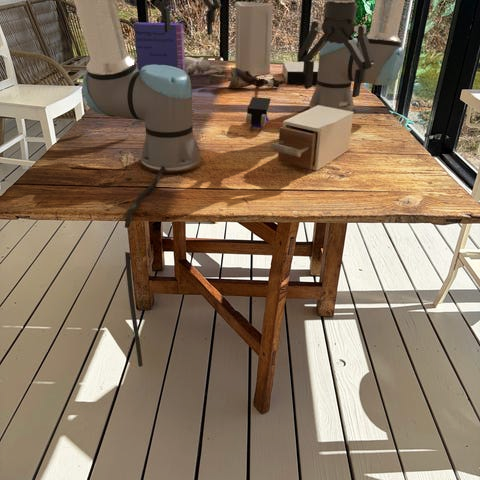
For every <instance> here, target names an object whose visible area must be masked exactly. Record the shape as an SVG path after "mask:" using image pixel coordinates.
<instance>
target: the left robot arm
mask: <svg viewBox="0 0 480 480" xmlns="http://www.w3.org/2000/svg"><path fill="white" fill-rule="evenodd" d="M73 1H74V6H75V9H76V12H77V16H78V19H79V22H80V23H79V24H80V26H81V30H82V33H83V37H84V41H85V44H86V48H87V52H88V56H89V58H90V59H89V61H88V62H87V63H86V66H85V67H86V70H85V72H84V74H83V76H82V82H83V83H82V85H81V88H82V94H83V98H84V99H85V102H86V104H87V105H88V107H89V108H90V109H91V110H92V111H93V112H95V113H97V114H100V115H102V116H103V115H104V116H107V117H108V118H109V117H110V118H123V119H130V120H136V121H143V122H144V125H145V138H144V142H143V146H142V150H141V154H140V162H141V166H142V168H144V169H145V170H146V171H149V172H151V173H156V176H155V177H154V179H153V182H152V183H151V184H150V185H149V186H148V187H147V188H146V189H145V190H144V191H142V192H141V193H140V194H139V196H138V197H136V198H135V200H134V201H133V203H132V204H131V206H130V207H129V209H128V210H127V212H126V215H125V220H124V228H125V229H128V228H130V226H131V219H132V215H133V213H134V212H135V210H136V208H137V207H138V205H139V204H140V202H141V201H142V200H143V199H144V198H145V197H146V196H147V195H149V194H150V193H151V192H152V191H153V190H154V189H156V186H157V185H158V183H159V181H160V179H161V178H162V175H164V174H165V175H169V174H170V175H172V174H173V175H175V174H182V173H187V172H190V171H193V170H195V169H197V168H198V167H199V166H201V163H202V155H201V151H200V149H199V146H198V143H197V141H196V137H195V135H194V130H193V129H194V126H193V97H192V96H193V89H192V83H191V77H190V76H189V73H188V74H187V73H186V72H185V71H183V70H181V69H179V68H176V67H172V66H167V65H147V66H144V67H142V68H141V71H139V70H138V65H137V61H136V58H135V57H134V55H132V54H130V53H129V52H128V51H127V47H126V43H125V39H124V34H123V29H122V26H121V20H120V16H119V13H118V7H117V3H116V0H73ZM171 2H172V0H154V3H153V4H154V6H155V7H158V8H159V9H160V18H161V21H163V23H164V25H165V33H168V32H171V31H170V23H171V14H170V8H169V7H168V6H169V4H170V3H171ZM202 2H203V3H204V4H205V6H207V8H208V10H206V31H207V32H206V34H207V36H211V35H213V23H215V22H216V10H218V9H220V8H222V4H221V1H220V0H202ZM124 255H125V257H124V258H125V271H126V283H127V292H128V300H129V308H130V315H131V322H132V327H133V329H132V330H133V337H134V342H135V343H134V344H135V350H136V357H137V364H138V367H140V368H141V367H143V365H144V364H143V355H142V348H141V347H142V346H141V340H140V333H139V326H138V319H137V312H136V304H135V297H134V295H135V294H134V288H133V287H134V285H133V276H132V261H131V252H128V251H124Z"/></svg>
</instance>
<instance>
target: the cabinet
mask: <svg viewBox="0 0 480 480" xmlns="http://www.w3.org/2000/svg"><path fill="white" fill-rule="evenodd" d="M353 119H354V111H353V112H351V111H346V110H341V109H335V108H330V107H325V106H320V105H318V106H315V107H313V108H311V109H307V110H305V111H302V112H300V113H298V114H295V115H294V116H291V117H290V118H287V119H285V120H283V121H282V122H283V123H282V124H283V125H282V127H286V128H287V127H288V126H294V127H298V128H302V129H307V130H311V131H316V132H318V137H317V147H316V157H315V164H313V166H312V169H311V170H313V171H318V170H320V169H322V168H323V167H325V166H327V165H328V164H329V163H331V162H332V161H334V160H335V159H337V158H338V157H340V156H341V155H343V154H344V153H346V152H347V151H349V149H350V142H351V134H352V126H353V121H354V120H353Z"/></svg>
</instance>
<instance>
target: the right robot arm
mask: <svg viewBox="0 0 480 480" xmlns="http://www.w3.org/2000/svg"><path fill="white" fill-rule="evenodd" d="M405 2H406V0H375V3H374V9H373V13H372V20H371V24H370V29H369V33H368V25H366V24H362V25H356V23H355V22H356V17H357V9H358V3H357V2H356V0H327V1H326V2H325V3H324V12H323V22H321V21H320V20H314V21H311V25H310V29H309V31H308V34H307V36H306V38H305V40H304V42H303V44H302V45H301V48H300V49H299V52H298V53H297V56H296V57H297V59H299V60H301V61H302V62H304V69H303V74H304V75H306V77H305V84H304V89H305V90H308V89H310V88H313V84H312V81H313V69H314V62H315V61H313V59H314V58H315V57H316V55H318V62H319V65H318V76H317V84H316V86H315V89H314V91H313V93H312V94H313V95H312V97H311V98H310V101H309V107H308V108H309V109H311V108H313V107H315V106H318V105H320V106H325V107H330V108H335V109H341V110H346V111H351V112H354V107H355V104H354V99H353V98H357V97H359V96H360V94H361V93H360V92H361V85H363V84H369V85H375V86H391V85H392V84H393V83H394V82H395V81H396V79H397V77H398V76H399V73H400V71H401V69H402V66H403V64H404V63H403V62H404V60H405V59H404V58H405V53H406V51H405V49H404V48H403V47H402V46H401V45H402V40H401V38H400V37H399V30H400V26H401V20H402V16H403V13H404V12H403V11H404V7H405ZM321 30H322V32H323V35H321V37H320V38H319V40H318V41H317V42H316V43H315V45H313V43H314V42H315V40H316V38H317V36H318V34H319V32H320V31H321ZM354 33H355V34H356V36H357V37H353V34H354ZM358 42H359V43H358ZM312 45H313V47H312ZM311 47H312V48H311ZM352 83H353V86H352ZM309 109H308V110H309Z"/></svg>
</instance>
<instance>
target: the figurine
mask: <svg viewBox="0 0 480 480" xmlns="http://www.w3.org/2000/svg"><path fill="white" fill-rule="evenodd" d="M230 69H231V72H230V73H231V74H230V76H229V75H225V74H213V73H211V74H210V78H209V85H212V84H213V83H214V79H215V78H216V79H223V80H227V81H229V84H228V88H229V89H241V88H247V87H249V86H255V87H256V88H262V87H268V88H271V89H273V88H280V86H281V85H284V84H287V81H286V79H275V78H274V77H272V78H265V77H262V78H261V77H257V76H252V75H251V73H250V72H249V71H245V72H244V71H242V70H240V69H237V68H235V67H232V66H231V67H230Z"/></svg>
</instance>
